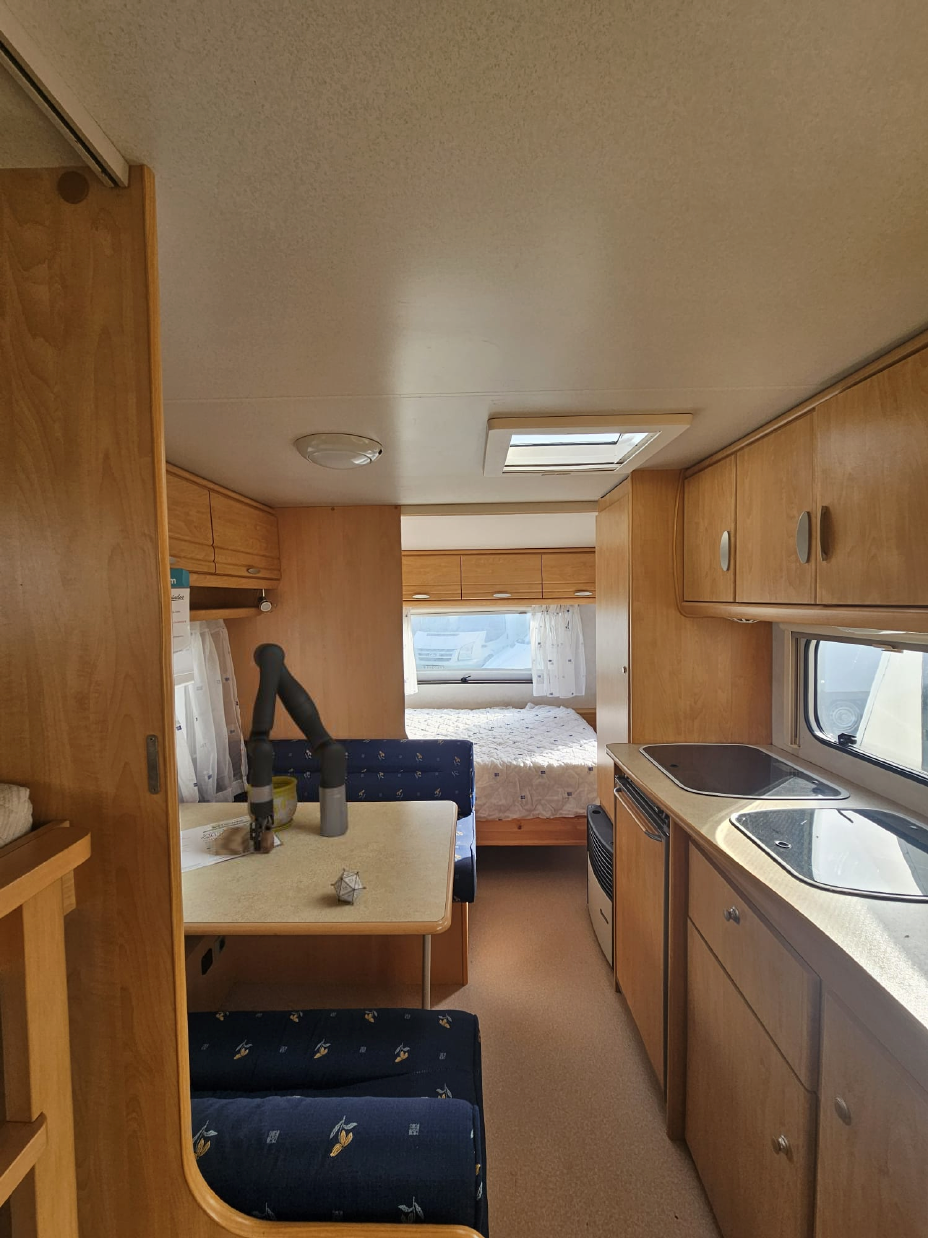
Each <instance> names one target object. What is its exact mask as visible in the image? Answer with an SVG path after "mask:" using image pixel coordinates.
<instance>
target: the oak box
mask: <svg viewBox="0 0 928 1238" xmlns="http://www.w3.org/2000/svg"><path fill="white" fill-rule="evenodd" d="M252 845H253V841H250V826H236V827H233V826H231V827H226V829H224V830H223V831H222V832H220V833H219V834H218V835H217V836H216V837H215V838H214V849H215V851H214V852H215V856H217V857H218V856H220V857H221V856H242V855H243V854H244V853H246V852H247V850H248V849H249V848H251V847H252Z"/></svg>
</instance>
